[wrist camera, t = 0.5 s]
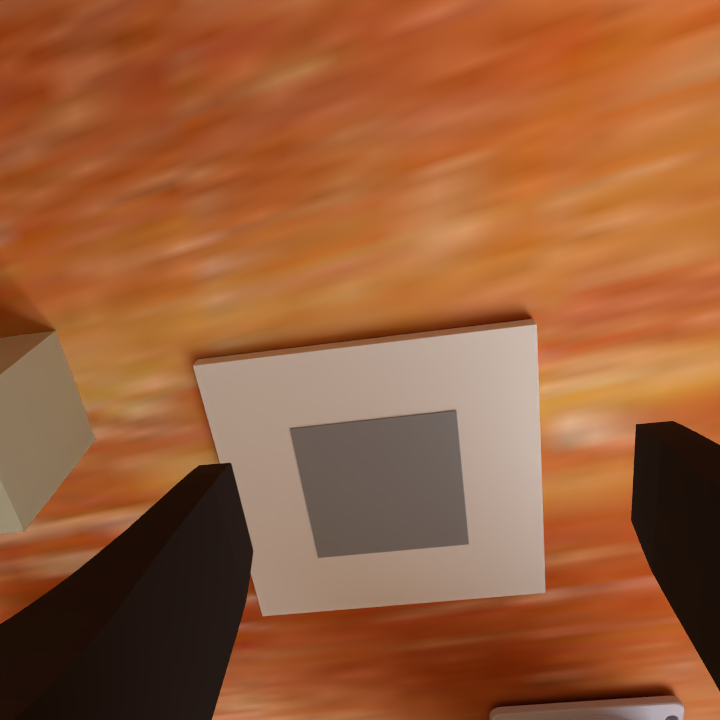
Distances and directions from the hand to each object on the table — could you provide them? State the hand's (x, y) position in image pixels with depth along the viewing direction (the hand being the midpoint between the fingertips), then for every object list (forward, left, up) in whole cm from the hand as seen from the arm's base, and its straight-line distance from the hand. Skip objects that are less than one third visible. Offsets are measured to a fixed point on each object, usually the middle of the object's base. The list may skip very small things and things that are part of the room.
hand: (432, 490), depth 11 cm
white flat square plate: (-6, +2, -10) cm, 12 cm away
